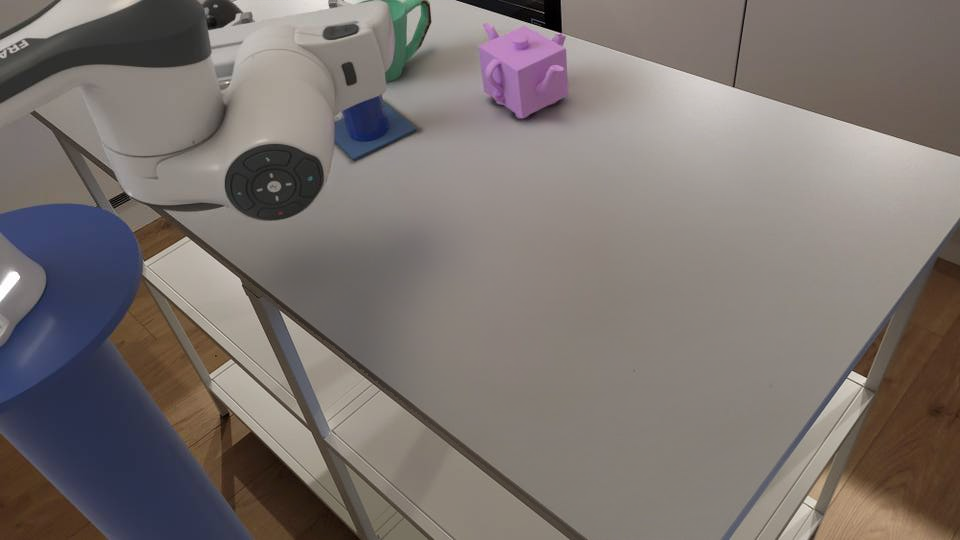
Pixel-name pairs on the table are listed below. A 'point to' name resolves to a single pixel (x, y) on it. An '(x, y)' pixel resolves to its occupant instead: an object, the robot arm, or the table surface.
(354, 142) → the blue mat
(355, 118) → the blue cup
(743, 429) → the table surface
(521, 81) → the teapot
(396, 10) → the mug
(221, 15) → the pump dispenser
